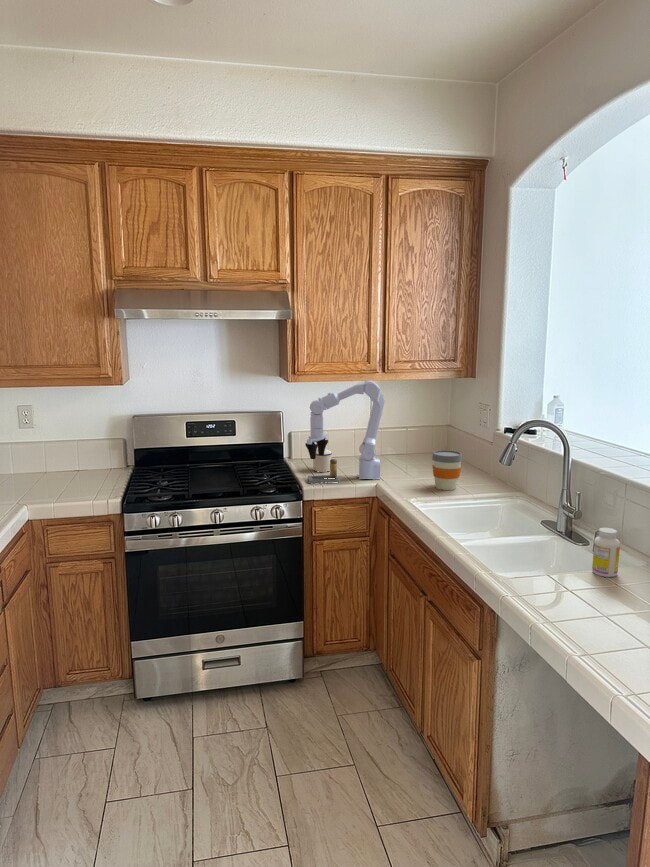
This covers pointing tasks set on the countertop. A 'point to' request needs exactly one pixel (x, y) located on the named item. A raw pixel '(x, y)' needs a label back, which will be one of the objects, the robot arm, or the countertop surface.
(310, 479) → the keyhole plate
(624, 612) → the countertop surface
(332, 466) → the peg
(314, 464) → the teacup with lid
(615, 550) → the supplement bottle
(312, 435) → the robot arm
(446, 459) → the reusable coffee cup
